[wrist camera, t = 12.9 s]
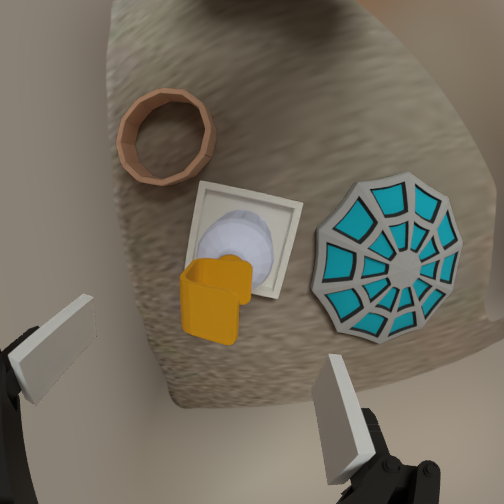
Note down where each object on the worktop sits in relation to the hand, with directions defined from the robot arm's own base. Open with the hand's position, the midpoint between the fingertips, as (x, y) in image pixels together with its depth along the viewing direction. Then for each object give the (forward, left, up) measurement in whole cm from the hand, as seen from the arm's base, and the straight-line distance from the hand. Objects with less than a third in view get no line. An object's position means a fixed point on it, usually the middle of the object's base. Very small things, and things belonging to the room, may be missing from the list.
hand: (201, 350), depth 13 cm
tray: (0, 0, -30) cm, 30 cm away
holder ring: (-13, -14, -30) cm, 35 cm away
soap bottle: (0, 0, -29) cm, 29 cm away
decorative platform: (-2, +26, -30) cm, 40 cm away
